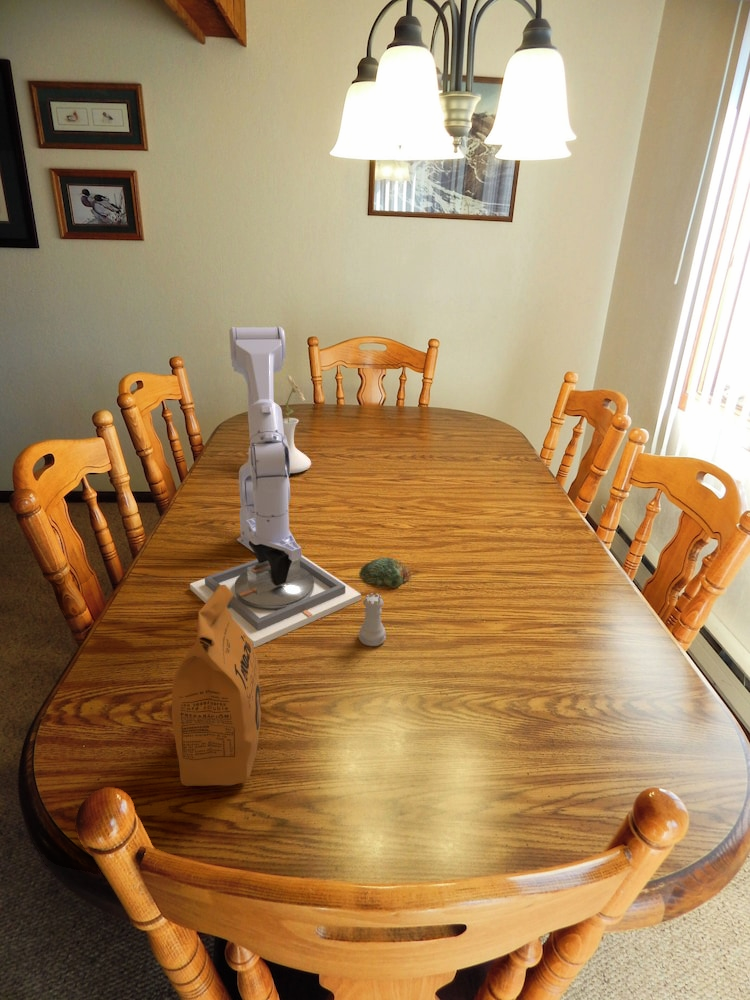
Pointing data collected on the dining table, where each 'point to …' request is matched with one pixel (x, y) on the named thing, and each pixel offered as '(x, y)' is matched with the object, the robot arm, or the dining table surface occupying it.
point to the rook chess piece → (372, 622)
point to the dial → (273, 586)
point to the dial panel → (281, 621)
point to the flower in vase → (297, 458)
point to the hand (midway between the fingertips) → (274, 579)
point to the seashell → (385, 573)
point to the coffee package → (217, 700)
